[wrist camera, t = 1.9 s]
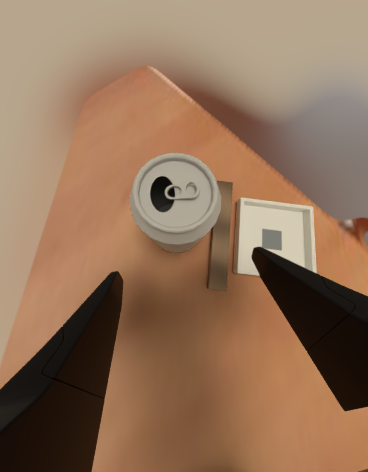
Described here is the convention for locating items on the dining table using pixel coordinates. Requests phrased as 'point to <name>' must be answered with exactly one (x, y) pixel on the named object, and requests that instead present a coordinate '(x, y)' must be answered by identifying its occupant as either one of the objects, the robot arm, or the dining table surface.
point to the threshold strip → (220, 241)
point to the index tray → (273, 233)
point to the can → (175, 201)
